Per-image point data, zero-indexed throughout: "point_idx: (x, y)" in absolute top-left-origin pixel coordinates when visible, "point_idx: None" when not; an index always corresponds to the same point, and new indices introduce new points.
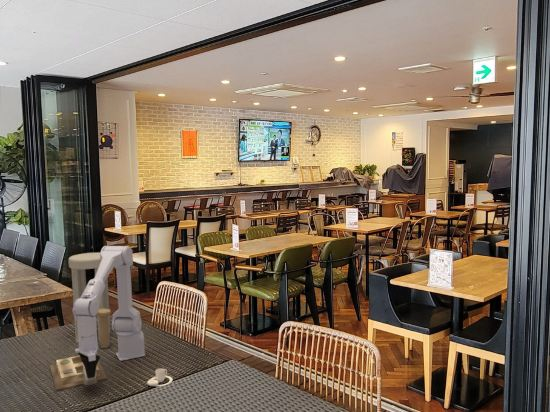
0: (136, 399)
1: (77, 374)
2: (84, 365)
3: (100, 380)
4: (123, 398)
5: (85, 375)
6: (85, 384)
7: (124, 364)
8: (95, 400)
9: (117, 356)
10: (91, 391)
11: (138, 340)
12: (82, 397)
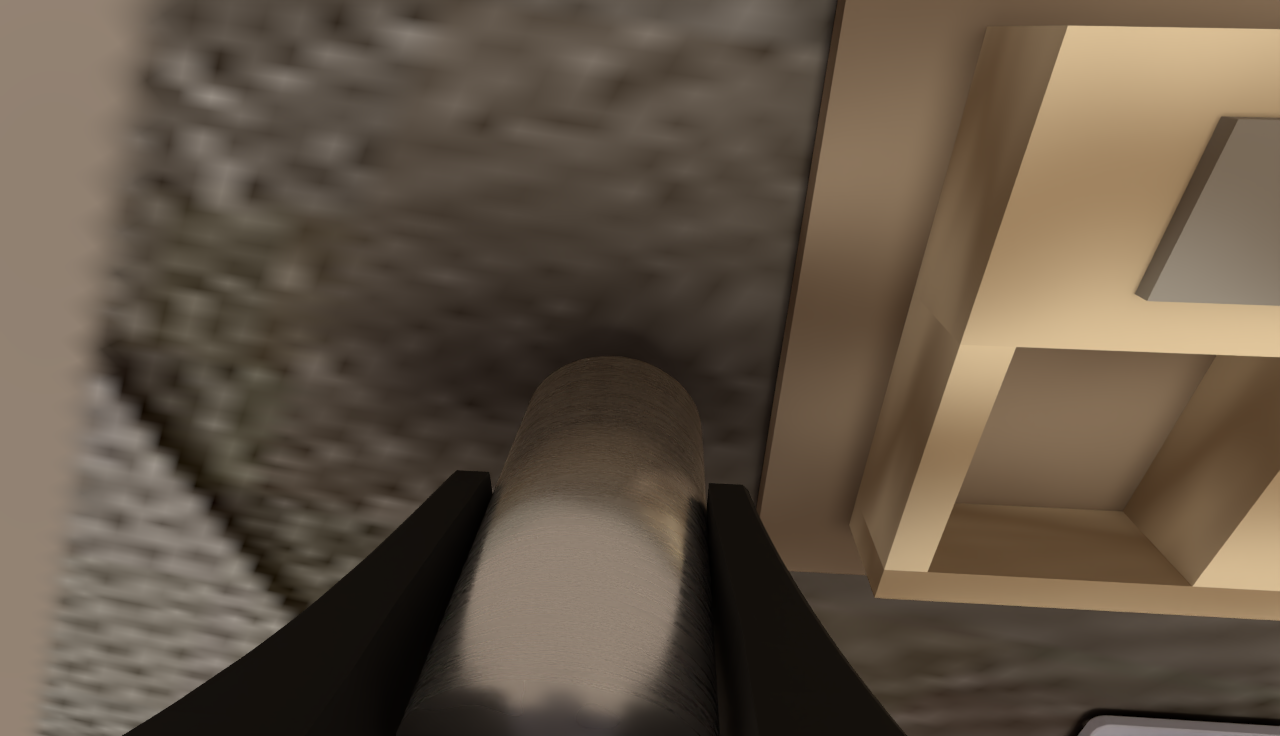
0: (204, 621)
1: (961, 343)
2: (151, 720)
3: (757, 505)
4: (248, 562)
5: (516, 471)
6: (560, 370)
7: (986, 713)
8: (273, 366)
9: (1225, 729)
10: (535, 374)
11: None
12: (408, 254)
